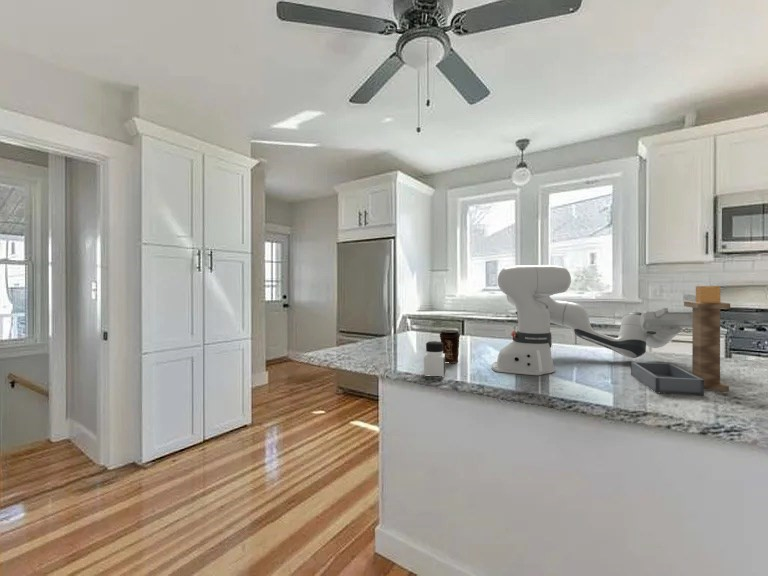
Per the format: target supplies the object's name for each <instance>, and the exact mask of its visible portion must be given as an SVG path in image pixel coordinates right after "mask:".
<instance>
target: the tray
mask: <svg viewBox="0 0 768 576" xmlns="http://www.w3.org/2000/svg"><path fill="white" fill-rule="evenodd" d="M630 375H631V376H632V377H633V378H634V379H636V380H638V381H639V382H640V381H641V382H640V383H641V384H643V383H644V384H645V385H644V384H643V385H644V386H646V387H647V386H648V387H649V388H648V387H647V388H648V389H650V390H651V389H652V390H653V391H652V390H651V391H652V392H654V391H655V392H660V393H659V394H667V393H671V394H670V395H685V396H686V395H689V396H702V397H703V396H705V390H704V380H703V379H701V378H699V377H697V376H695V375H693V374H692V373H691V372H689V371H687V370H685V369H684V368H682V367H679V366H677V365H676V364H673V363H672V362H669V363H668V362H650V361H649V362H648V361H647V362H645V361H644V362H643V361H642V362H641V361H630ZM655 392H654V393H655Z"/></svg>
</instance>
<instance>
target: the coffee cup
mask: <svg viewBox="0 0 768 576" xmlns="http://www.w3.org/2000/svg"><path fill="white" fill-rule="evenodd" d="M460 334H461V333H459V330H456V329H446V330H445V329H442V330H441V331H440V333H439V339H440V342H442V343H443V353H444V354H445V362H449V363H455V364H457V363H458V362H459V355H460V354H459V350H460V337H461V335H460ZM456 362H457V363H456Z"/></svg>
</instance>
